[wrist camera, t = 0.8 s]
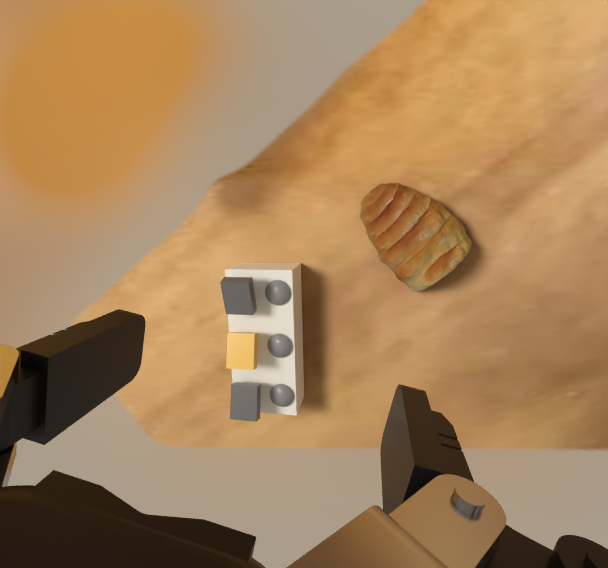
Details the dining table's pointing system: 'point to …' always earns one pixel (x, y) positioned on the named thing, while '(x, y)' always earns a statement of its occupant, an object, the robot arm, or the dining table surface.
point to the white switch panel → (274, 334)
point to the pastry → (413, 234)
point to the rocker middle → (242, 350)
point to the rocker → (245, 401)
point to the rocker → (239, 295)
